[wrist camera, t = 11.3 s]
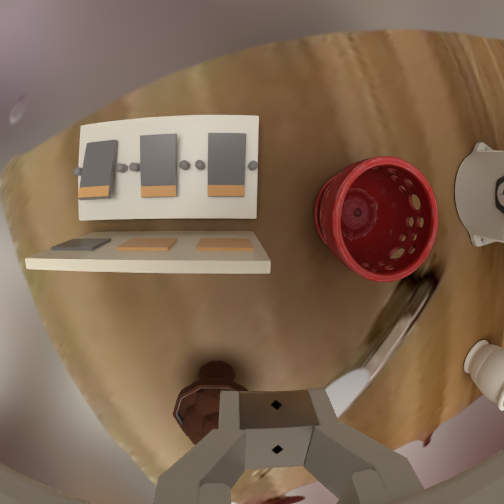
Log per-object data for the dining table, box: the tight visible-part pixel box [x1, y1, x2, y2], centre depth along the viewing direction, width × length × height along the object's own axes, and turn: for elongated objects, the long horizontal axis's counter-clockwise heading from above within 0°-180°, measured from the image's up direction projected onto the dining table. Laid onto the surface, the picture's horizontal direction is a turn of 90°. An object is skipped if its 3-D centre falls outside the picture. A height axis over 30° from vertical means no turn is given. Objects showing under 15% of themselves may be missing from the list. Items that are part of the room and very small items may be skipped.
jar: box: [464, 340, 504, 410], centre depth 40 cm, size 11×10×15 cm
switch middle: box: [140, 134, 177, 198], centre depth 30 cm, size 4×7×1 cm, turn 179°
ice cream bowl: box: [173, 361, 248, 445], centre depth 35 cm, size 11×11×15 cm
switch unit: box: [25, 115, 271, 274], centre depth 28 cm, size 22×15×16 cm
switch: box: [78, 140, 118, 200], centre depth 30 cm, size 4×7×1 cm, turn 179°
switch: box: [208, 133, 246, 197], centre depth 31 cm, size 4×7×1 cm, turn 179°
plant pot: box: [314, 156, 438, 282], centre depth 33 cm, size 13×13×12 cm
